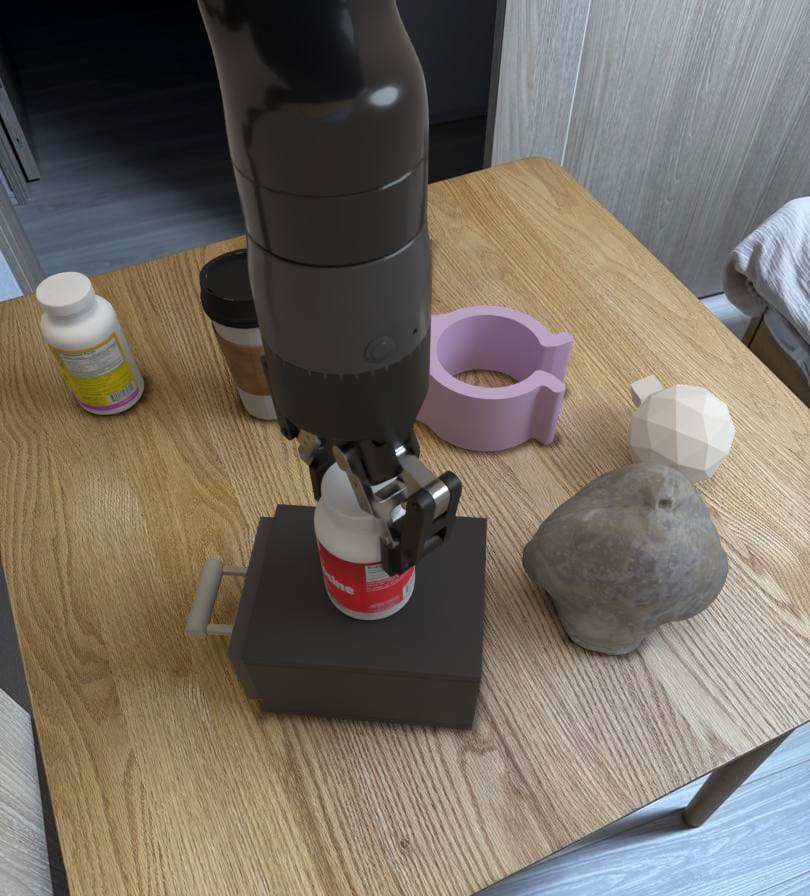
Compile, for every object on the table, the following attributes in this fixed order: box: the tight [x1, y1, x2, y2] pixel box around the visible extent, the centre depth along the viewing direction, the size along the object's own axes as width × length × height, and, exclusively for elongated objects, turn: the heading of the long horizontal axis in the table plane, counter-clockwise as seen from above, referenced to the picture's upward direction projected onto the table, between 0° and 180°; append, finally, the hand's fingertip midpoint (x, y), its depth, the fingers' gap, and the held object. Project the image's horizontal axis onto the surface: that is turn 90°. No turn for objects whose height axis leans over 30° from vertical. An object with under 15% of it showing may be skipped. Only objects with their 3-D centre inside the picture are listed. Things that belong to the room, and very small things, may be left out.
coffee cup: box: [198, 247, 278, 421], centre depth 69 cm, size 8×8×15 cm
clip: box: [415, 304, 575, 453], centre depth 72 cm, size 20×12×7 cm, turn 77°
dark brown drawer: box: [184, 516, 274, 701], centre depth 56 cm, size 19×11×8 cm, turn 85°
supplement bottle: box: [35, 271, 145, 416], centre depth 70 cm, size 7×7×13 cm
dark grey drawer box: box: [242, 503, 488, 731], centre depth 56 cm, size 16×13×10 cm
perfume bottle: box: [625, 373, 737, 484], centre depth 67 cm, size 9×9×12 cm
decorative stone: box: [521, 463, 730, 656], centre depth 56 cm, size 15×10×15 cm
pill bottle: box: [314, 462, 415, 620], centre depth 47 cm, size 6×6×11 cm
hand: (364, 529), depth 46 cm, fingers closed on pill bottle, 6 cm apart
